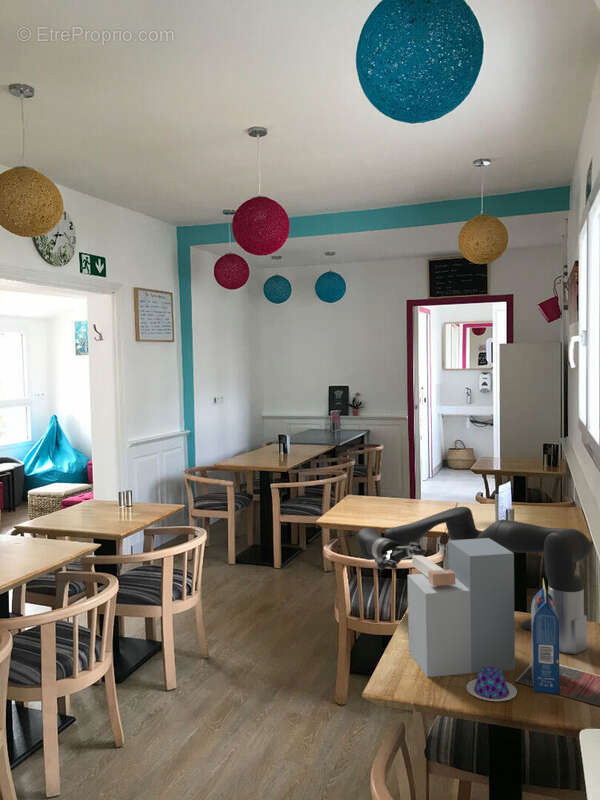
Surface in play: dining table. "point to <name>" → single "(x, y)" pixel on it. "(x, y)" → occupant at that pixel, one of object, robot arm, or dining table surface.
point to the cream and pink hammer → (433, 571)
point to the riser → (465, 612)
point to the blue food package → (545, 643)
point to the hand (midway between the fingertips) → (408, 559)
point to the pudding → (491, 685)
